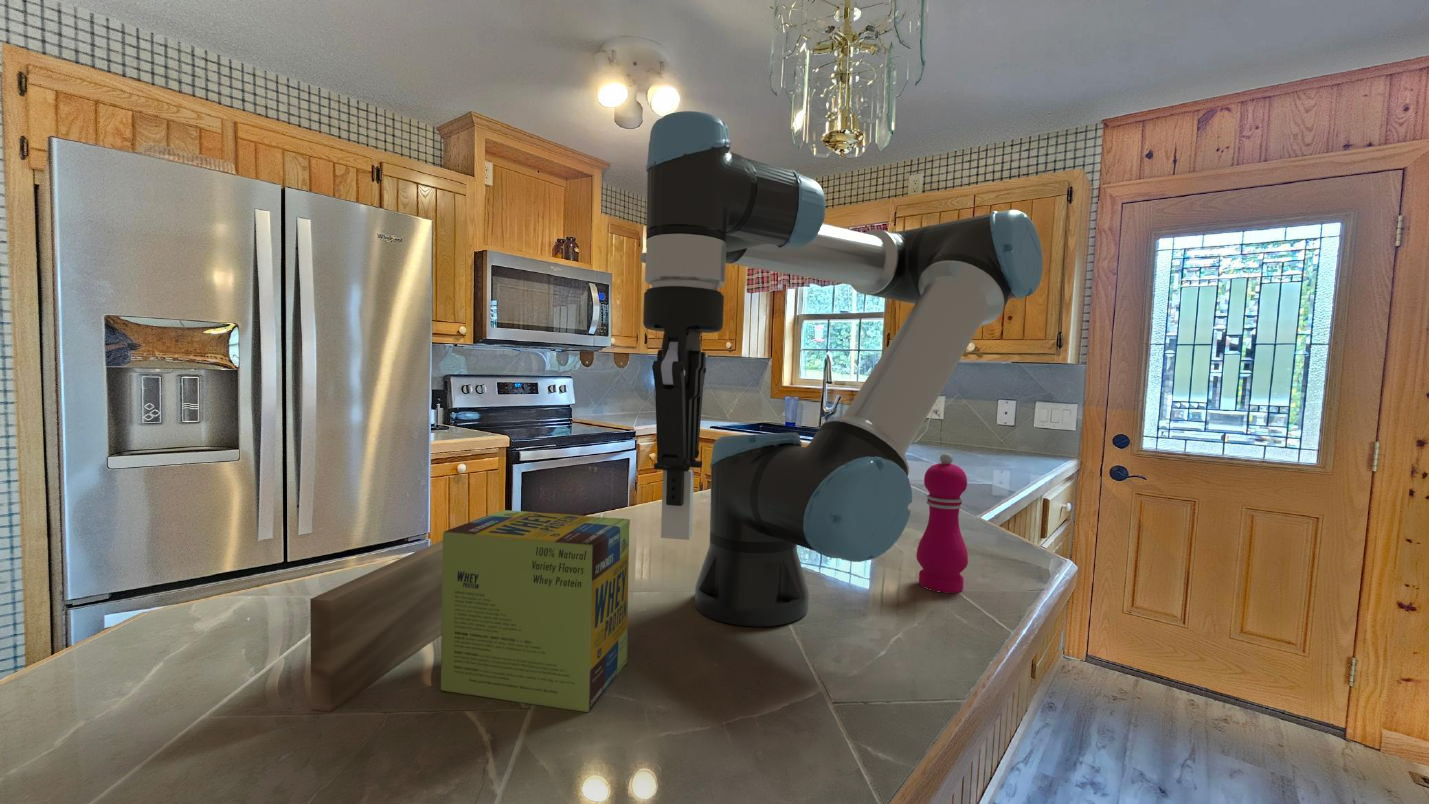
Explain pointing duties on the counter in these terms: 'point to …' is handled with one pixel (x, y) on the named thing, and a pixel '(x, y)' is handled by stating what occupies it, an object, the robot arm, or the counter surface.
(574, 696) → the protein box
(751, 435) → the robot arm
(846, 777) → the counter surface
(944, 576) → the pepper mill
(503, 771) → the counter surface
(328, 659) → the board
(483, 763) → the counter surface
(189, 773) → the counter surface
